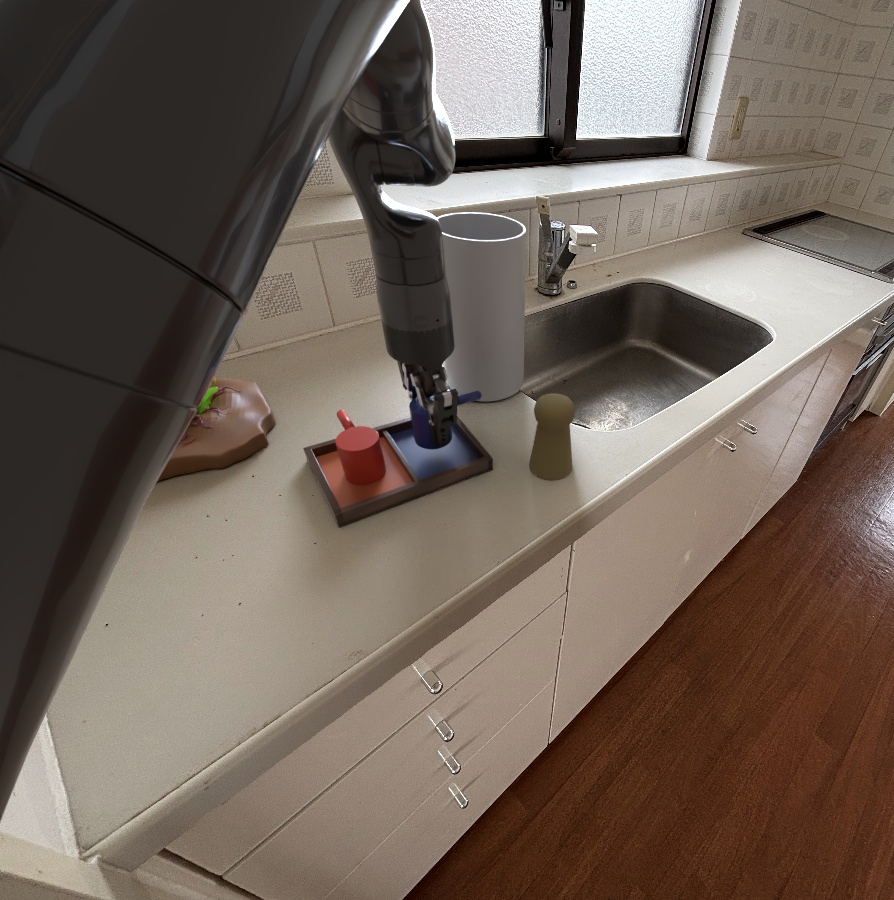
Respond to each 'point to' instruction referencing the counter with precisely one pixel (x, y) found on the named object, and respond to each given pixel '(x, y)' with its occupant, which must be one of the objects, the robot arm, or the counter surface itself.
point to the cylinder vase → (485, 302)
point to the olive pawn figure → (552, 437)
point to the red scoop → (359, 452)
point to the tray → (397, 470)
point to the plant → (223, 428)
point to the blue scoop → (421, 419)
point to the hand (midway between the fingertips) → (432, 432)
